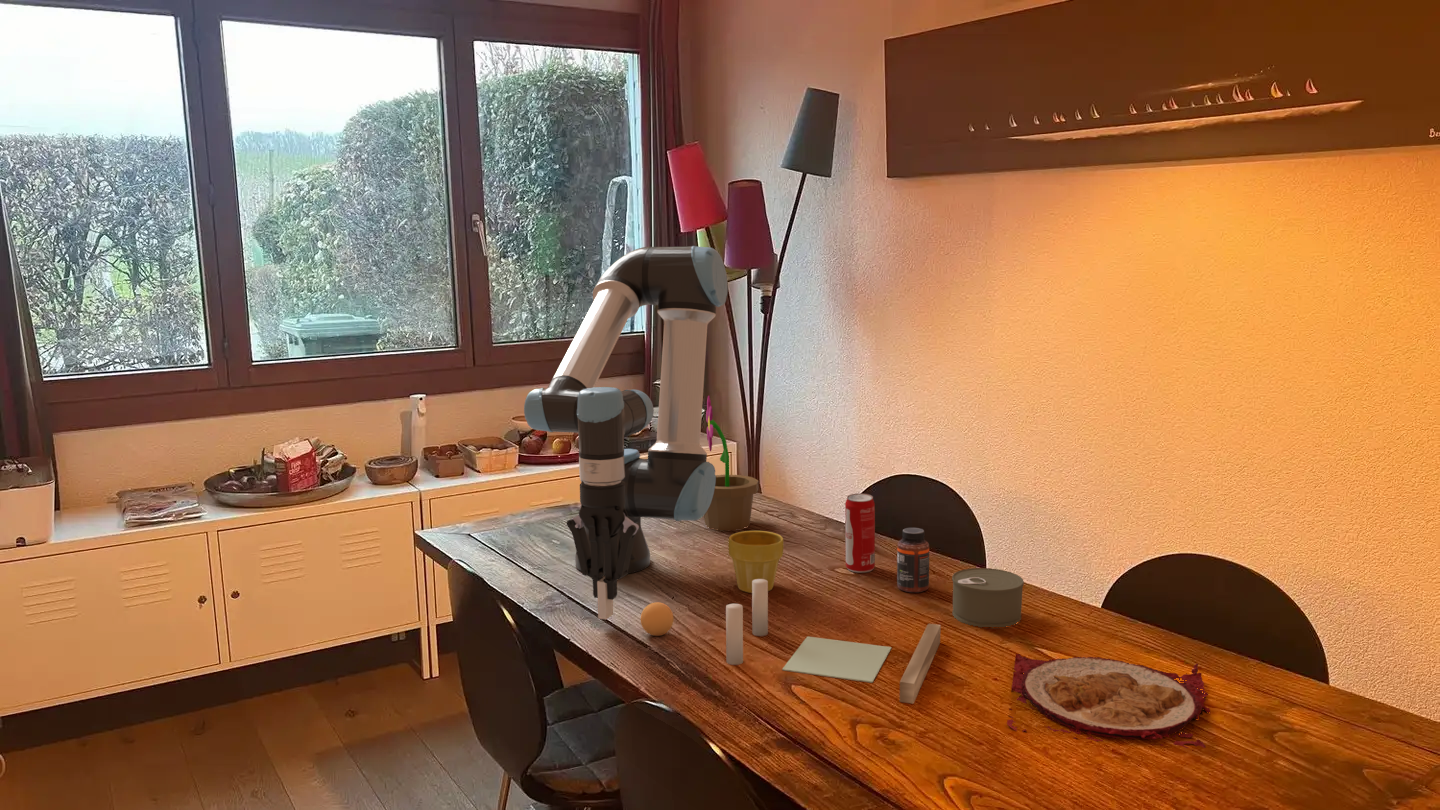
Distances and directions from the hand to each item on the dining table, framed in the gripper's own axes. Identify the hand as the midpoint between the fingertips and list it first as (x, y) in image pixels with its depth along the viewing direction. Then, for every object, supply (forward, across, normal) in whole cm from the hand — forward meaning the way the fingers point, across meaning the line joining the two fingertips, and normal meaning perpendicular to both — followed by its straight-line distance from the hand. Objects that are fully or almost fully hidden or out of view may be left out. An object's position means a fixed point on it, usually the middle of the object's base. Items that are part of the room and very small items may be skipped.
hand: (605, 616), depth 179 cm
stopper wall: (+2, +54, 0) cm, 54 cm away
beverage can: (+2, +34, +45) cm, 56 cm away
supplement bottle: (+2, +46, +37) cm, 59 cm away
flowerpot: (+2, -2, +67) cm, 67 cm away
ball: (-1, +10, 0) cm, 10 cm away
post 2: (+2, +26, +6) cm, 26 cm away
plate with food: (+3, +80, -3) cm, 81 cm away
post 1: (+2, +26, -6) cm, 26 cm away
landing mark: (+2, +40, 0) cm, 41 cm away
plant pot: (+2, +18, +28) cm, 33 cm away
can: (+2, +60, +27) cm, 66 cm away
